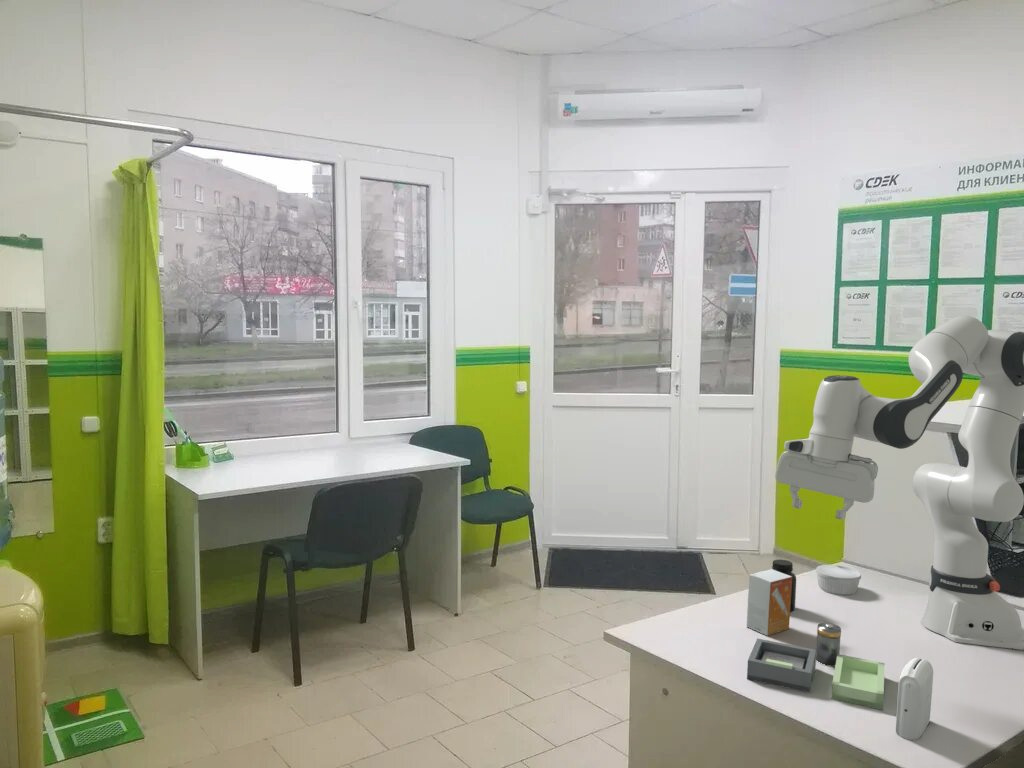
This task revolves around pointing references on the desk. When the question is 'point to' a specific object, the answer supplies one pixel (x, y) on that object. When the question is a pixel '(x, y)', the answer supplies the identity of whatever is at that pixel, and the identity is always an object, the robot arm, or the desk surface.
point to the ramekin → (838, 579)
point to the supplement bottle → (787, 569)
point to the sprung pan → (784, 659)
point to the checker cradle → (781, 666)
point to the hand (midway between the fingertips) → (817, 513)
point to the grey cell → (828, 643)
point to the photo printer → (914, 698)
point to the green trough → (858, 681)
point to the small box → (769, 601)
